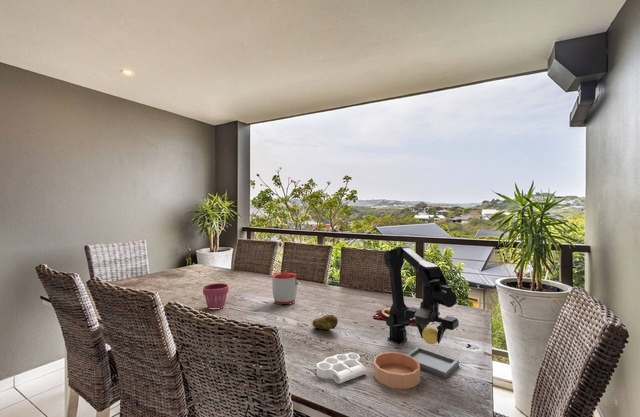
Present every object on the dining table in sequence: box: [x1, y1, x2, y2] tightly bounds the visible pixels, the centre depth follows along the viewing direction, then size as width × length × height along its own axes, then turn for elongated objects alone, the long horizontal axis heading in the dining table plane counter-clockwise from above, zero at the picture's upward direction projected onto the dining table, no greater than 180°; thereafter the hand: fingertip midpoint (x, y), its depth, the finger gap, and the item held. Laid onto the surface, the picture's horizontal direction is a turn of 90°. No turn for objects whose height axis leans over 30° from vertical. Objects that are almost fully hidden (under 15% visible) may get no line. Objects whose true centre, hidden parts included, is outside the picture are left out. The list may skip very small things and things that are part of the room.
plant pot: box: [202, 282, 230, 309], centre depth 181 cm, size 14×14×13 cm
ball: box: [422, 326, 438, 345], centre depth 115 cm, size 6×6×6 cm
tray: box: [406, 346, 460, 379], centre depth 115 cm, size 16×12×2 cm
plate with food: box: [372, 306, 417, 326], centre depth 167 cm, size 25×26×4 cm
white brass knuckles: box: [316, 352, 368, 384], centre depth 111 cm, size 3×18×15 cm
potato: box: [312, 314, 339, 331], centre depth 147 cm, size 8×13×8 cm, turn 36°
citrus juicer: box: [271, 269, 301, 305], centre depth 190 cm, size 16×17×20 cm
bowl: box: [372, 351, 421, 390], centre depth 107 cm, size 16×16×4 cm
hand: (430, 340), depth 115 cm, fingers closed on ball, 6 cm apart
